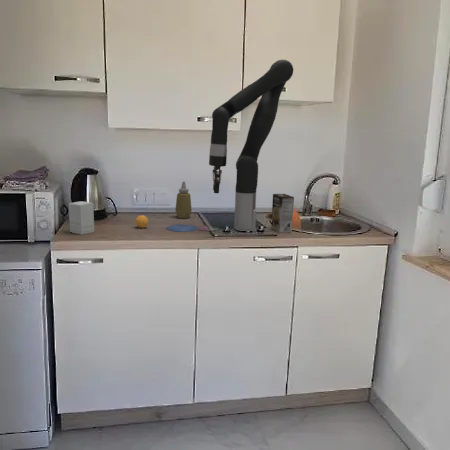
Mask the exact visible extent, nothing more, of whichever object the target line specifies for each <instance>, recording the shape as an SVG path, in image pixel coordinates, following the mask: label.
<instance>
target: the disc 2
mask: <svg viewBox="0 0 450 450" xmlns="http://www.w3.org/2000/svg"><path fill="white" fill-rule="evenodd" d="M207 226H208V225H201V226H198V229H197V230H198V231H202V232H211V231H210V230H209V229H208V227H207Z"/></svg>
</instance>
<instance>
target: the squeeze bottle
mask: <svg viewBox="0 0 450 450" xmlns="http://www.w3.org/2000/svg"><path fill="white" fill-rule="evenodd" d="M191 198H192V197H191V194H190V193H189V188H187V186H186V181H182V182H181V187H180V188H179V189H178V193H177V195H176V202H175V213H176V217H177V218H178V219H189V218H190V216H191V213H192V199H191Z"/></svg>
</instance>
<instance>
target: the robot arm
mask: <svg viewBox="0 0 450 450" xmlns="http://www.w3.org/2000/svg"><path fill="white" fill-rule="evenodd" d="M293 74H294V66H293V64H292V63H291V62H290V61H289V60H287V59H279V60H277V61H275V62H274V63H272V64H271V66H270V67H269V69H268V70H267V71H266V72H265V73H264V74H263V75H262V76H261V77H259V78H258V79H257V80H255V81H254V82H252V83H250V84H249V85H247V86H246V87H244V88H243V89H240V91H238V92H237V93H235V94H234V95H232V96H231V98H230V99H229V98H228V100H227V101H226V102H224V103H222V104H221V105H219V106H218V107H216V108H215V109H214V110H213V112H212V114H211V118H212V123H211V124H212V125H211V126H212V127H211V128H212V130H211V134H210V144H209V145H210V146H209V159H208V160H209V161H208V164H209V166H212V167H213V169H212V181H213V185H212V186H213V188H212V190H213V193H214V194H219V193H220V185H221V181H222V174H223V170H222V169H221V167H226V166H227V159H228V158H227V157H228V129H229V122H230V121H229V120H230V119H231V118H232V117H234V116H235V115H237V114H238V113H240V112H242V111H243V110H245V109H247V108H248V107H249V106H251V105H252V104H253V103H254V102H256V101H257V100H258V99H259V98H260V99H259V101H258V104H257V105H256V108H255V111H254V114H253V116H252V119H251V121H250V126H249V128H248V132H247V136H246V140H245V142H244V145H243V148H242V150H241V152H240V154H239V156H238V158H237V160H236V163H235V170H236V182H235V194H234V195H235V197H234V199H235V200H234V223H233V226H234V227H233V229H236V230H239V231H252V232H256V225H257V209H256V205H257V188H258V179H259V163H258V158H259V155H260V152H261V149H262V147H263V145H264V144H265V142H266V139H267V138H268V136H269V135H270V133H271V130H272V128H273V125H274V123H275V120H276V117H277V113H278V107H279V102H280V97H281V94H282V93H283V89H284V87H285V86H286V84H287V82H288V81H290V79H291V78H292V77H293V76H294V75H293ZM236 230H235V231H236ZM239 231H238V232H239Z"/></svg>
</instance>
